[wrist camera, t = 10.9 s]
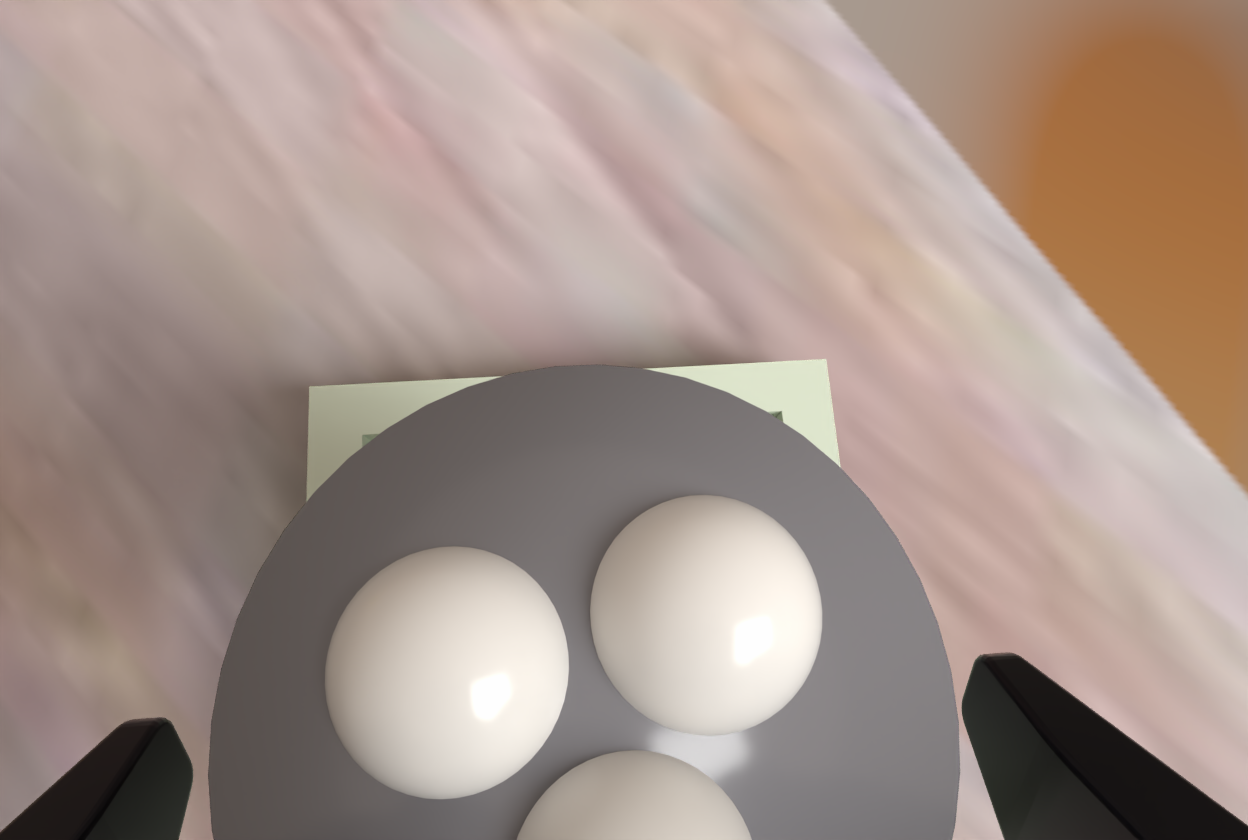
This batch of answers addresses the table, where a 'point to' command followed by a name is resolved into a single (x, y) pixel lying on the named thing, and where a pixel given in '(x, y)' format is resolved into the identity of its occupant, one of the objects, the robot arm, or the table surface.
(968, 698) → the robot arm
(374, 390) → the sage dish
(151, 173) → the table surface
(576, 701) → the grey can
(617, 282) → the table surface
